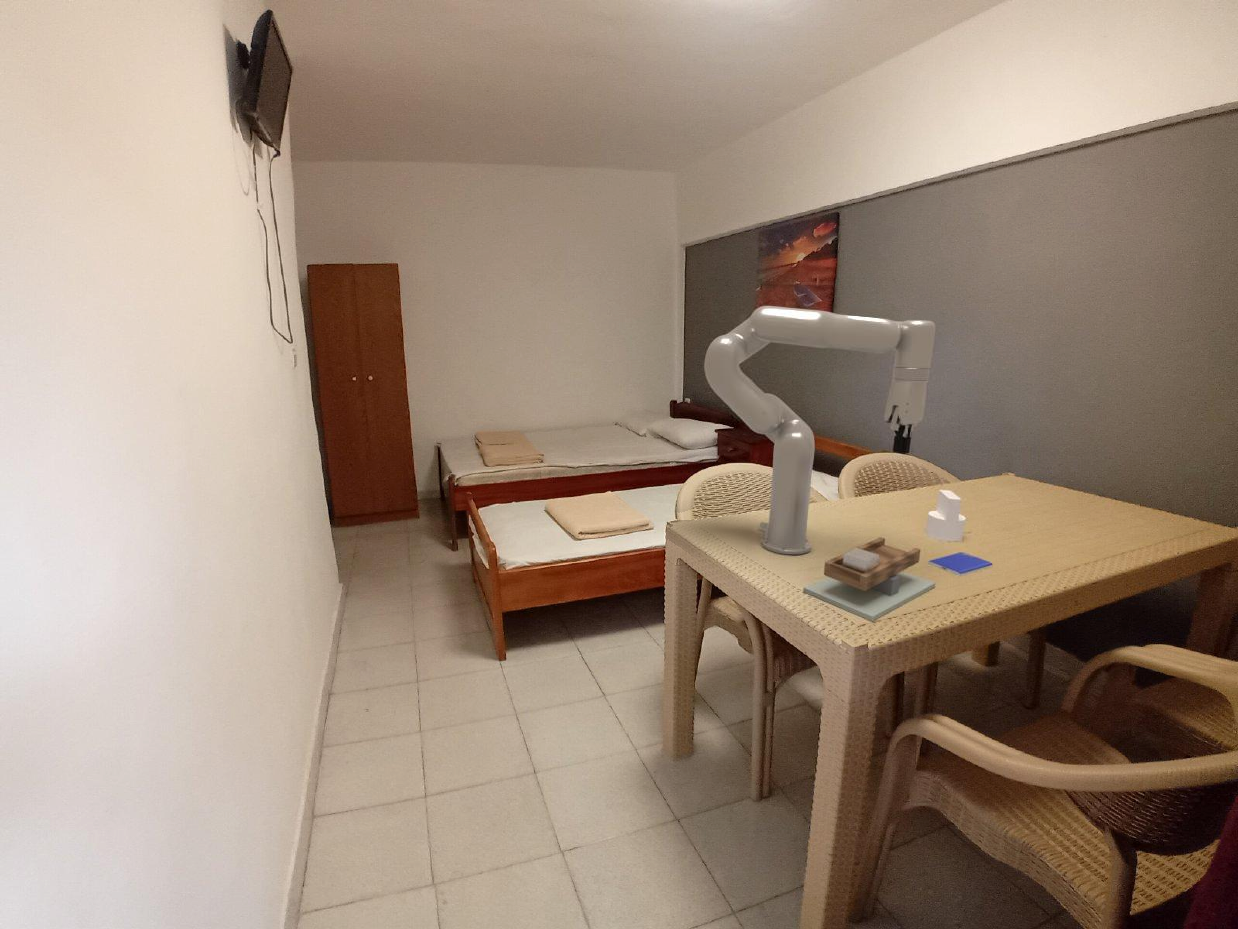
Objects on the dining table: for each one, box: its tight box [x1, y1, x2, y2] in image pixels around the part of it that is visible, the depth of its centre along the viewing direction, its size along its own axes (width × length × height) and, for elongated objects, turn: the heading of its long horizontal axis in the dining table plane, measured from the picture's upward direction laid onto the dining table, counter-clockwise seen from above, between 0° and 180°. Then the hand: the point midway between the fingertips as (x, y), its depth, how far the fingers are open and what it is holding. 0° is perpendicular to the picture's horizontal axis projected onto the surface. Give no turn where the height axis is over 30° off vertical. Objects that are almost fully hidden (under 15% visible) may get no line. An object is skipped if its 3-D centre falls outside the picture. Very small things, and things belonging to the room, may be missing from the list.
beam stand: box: [802, 571, 936, 622], centre depth 129 cm, size 26×16×5 cm, turn 127°
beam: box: [823, 536, 921, 591], centre depth 128 cm, size 22×9×3 cm, turn 127°
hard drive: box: [927, 552, 993, 577], centre depth 144 cm, size 2×8×12 cm
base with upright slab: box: [925, 489, 966, 543], centre depth 162 cm, size 9×9×12 cm
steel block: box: [843, 547, 879, 574], centre depth 123 cm, size 5×5×4 cm
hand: (900, 452), depth 141 cm, fingers closed
